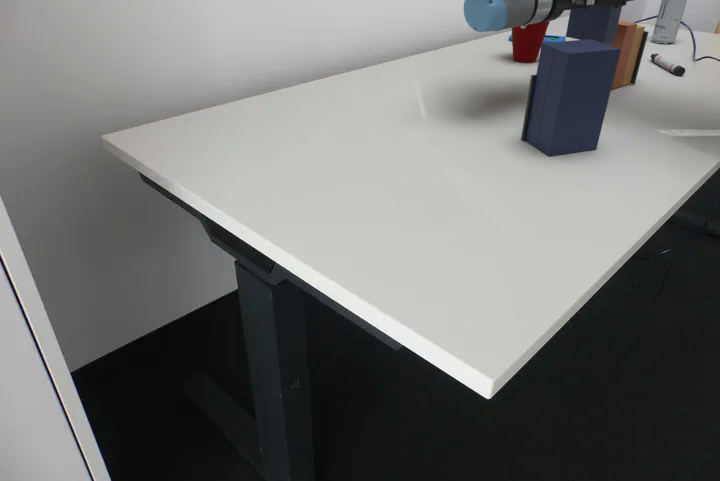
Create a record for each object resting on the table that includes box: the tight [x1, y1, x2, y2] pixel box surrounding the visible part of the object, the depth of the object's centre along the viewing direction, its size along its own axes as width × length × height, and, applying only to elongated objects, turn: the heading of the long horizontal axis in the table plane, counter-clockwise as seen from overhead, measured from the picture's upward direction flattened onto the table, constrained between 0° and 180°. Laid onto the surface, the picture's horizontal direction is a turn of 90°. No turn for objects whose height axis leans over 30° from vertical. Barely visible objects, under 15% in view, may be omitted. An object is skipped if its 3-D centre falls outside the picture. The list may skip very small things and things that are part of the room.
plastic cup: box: [511, 21, 551, 64], centre depth 134 cm, size 11×11×12 cm
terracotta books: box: [608, 20, 650, 91], centre depth 117 cm, size 8×10×13 cm
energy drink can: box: [651, 0, 688, 45], centre depth 148 cm, size 6×6×15 cm
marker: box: [650, 53, 686, 77], centre depth 130 cm, size 15×2×2 cm, turn 0°
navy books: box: [520, 39, 621, 157], centre depth 86 cm, size 8×10×16 cm
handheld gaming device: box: [508, 33, 567, 43], centre depth 155 cm, size 8×1×15 cm
